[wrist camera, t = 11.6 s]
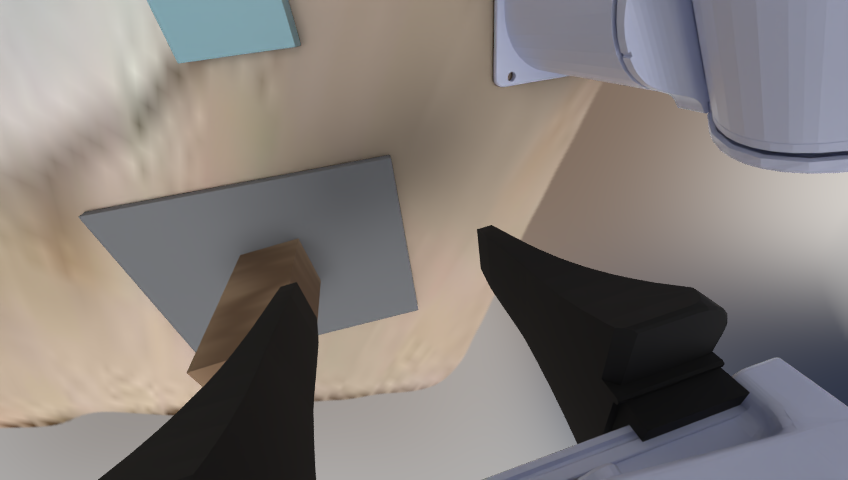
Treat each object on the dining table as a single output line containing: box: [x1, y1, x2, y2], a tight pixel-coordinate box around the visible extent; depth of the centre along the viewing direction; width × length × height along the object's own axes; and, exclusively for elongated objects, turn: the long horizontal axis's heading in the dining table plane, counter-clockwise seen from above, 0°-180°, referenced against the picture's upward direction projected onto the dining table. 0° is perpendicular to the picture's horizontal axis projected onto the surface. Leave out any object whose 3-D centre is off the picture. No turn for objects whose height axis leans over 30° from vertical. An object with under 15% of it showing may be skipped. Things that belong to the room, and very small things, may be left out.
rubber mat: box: [79, 155, 418, 352], centre depth 23 cm, size 18×14×1 cm
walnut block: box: [187, 239, 321, 387], centre depth 19 cm, size 4×4×9 cm
